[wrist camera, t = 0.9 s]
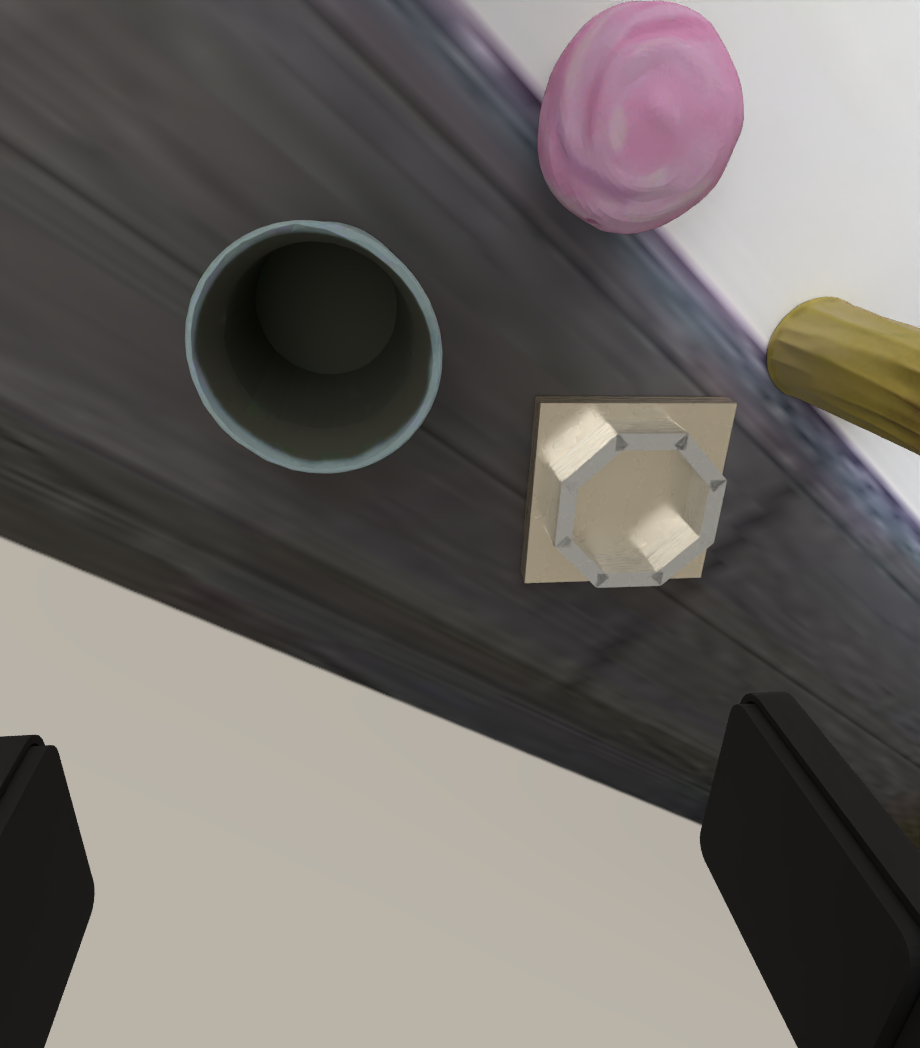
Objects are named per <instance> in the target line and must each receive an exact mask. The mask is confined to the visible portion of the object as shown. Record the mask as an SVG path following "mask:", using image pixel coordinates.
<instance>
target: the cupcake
mask: <svg viewBox="0 0 920 1048" xmlns="http://www.w3.org/2000/svg"><path fill="white" fill-rule="evenodd" d="M743 120H744V106H743V95H742V89H741V85H740V80H739V77H738V74H737V71H736V69H735V67H734V64H733V62H732V60H731V58H730V55H729V53H728V51H727V49H726V47H725V46H724V44H723V42H722V40H721V38H720V37H719V35H718V33H717V32H716V30H715V29H714V27H713V26H712V24H711V23H710V22H709V21H708V20H707V19H705V18H704V17H703V16H702V15H701V14H699V13H698V12H696V11H694V10H692V9H690V8H688V7H685V6H682V5H679V4H676V3H671V2H664V1H643V2H637V1H633V2H626V3H621V4H618V5H615V6H612V7H611V8H609V9H607V10H605V11H603V12H601V13H599V14H598V15H596V16H595V17H593V18H592V19H591V20H589V21H588V22H587V23H586V24H585V25H584V26H583V27H582V28H581V29H580V30H579V31H578V33H577V34H576V35H575V36H574V37H573V39H572V40H571V41H570V43H569V44H568V46H567V47H566V49H565V50H564V51H563V53H562V55H561V56H560V58H559V60H558V61H557V63H556V65H555V67H554V69H553V71H552V73H551V75H550V78H549V81H548V84H547V88H546V91H545V94H544V98H543V101H542V106H541V111H540V117H539V129H538V142H537V147H538V157H539V162H540V167H541V170H542V173H543V176H544V179H545V182H546V183H547V185H548V187H549V189H550V190H551V192H552V193H553V195H554V196H555V197H556V198H557V200H558V201H559V202H560V203H561V204H562V205H563V206H564V207H565V208H566V209H567V210H569V211H570V212H571V213H573V214H574V215H576V216H577V217H579V218H580V219H582V220H583V221H585V222H587V223H589V224H591V225H593V226H594V227H596V228H597V229H599V230H602V231H606V232H612V233H619V234H635V233H640V232H644V231H648V230H651V229H654V228H657V227H660V226H662V225H664V224H666V223H668V222H670V221H672V220H674V219H675V218H677V217H679V216H680V215H682V214H683V213H685V212H686V211H688V210H689V209H690V208H692V207H693V206H694V205H696V204H697V203H699V202H700V201H701V200H702V199H703V198H704V197H705V196H706V195H707V194H708V193H709V192H710V191H711V190H712V189H713V188H714V187H715V185H716V184H717V182H718V181H719V179H720V178H721V176H722V174H723V172H724V170H725V168H726V166H727V163H728V161H729V159H730V156H731V154H732V152H733V149H734V147H735V145H736V143H737V140H738V138H739V136H740V133H741V130H742V126H743Z"/></svg>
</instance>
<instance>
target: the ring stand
mask: <svg viewBox="0 0 920 1048" xmlns="http://www.w3.org/2000/svg"><path fill="white" fill-rule="evenodd" d="M736 406H737V403H736V402H734V401H732V400H731V399H729V398H728V397H726V396H535V404H534V415H533V427H532V439H531V450H530V462H529V474H528V485H527V497H526V509H525V520H524V532H523V544H522V555H521V567H520V573H521V575H522V578H523V580H524V583H543V582H575V581H590V582H591V583H592V584H593V585H594V586H595V587H596V588H605V587H636V586H661V585H662V584H663V583H664V582H666V581H667V580H668V579H671V578H701V573H702V568H703V563H704V559H705V554H706V549H707V548H708V547H709V546H711V545H712V544H713V543H714V539H715V535H716V530H717V525H718V521H719V516H720V511H721V507H722V502H723V497H724V492H725V488H726V483H727V480H726V479H725V478H724V476H723V475H722V473H723V468H724V463H725V459H726V454H727V449H728V444H729V440H730V435H731V430H732V425H733V420H734V416H735V411H736Z"/></svg>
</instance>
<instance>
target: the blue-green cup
mask: <svg viewBox="0 0 920 1048" xmlns="http://www.w3.org/2000/svg"><path fill="white" fill-rule="evenodd" d="M185 347H186V357H187V361H188V365H189V369H190V373H191V377H192V380H193V382H194V384H195V387H196V389H197V391H198V394H199V396H200V398H201V400H202V402H203V404H204V406H205V407H206V408H207V410H208V411H209V412H210V414H211V415H212V416H213V418H214V419H215V420H216V422H217V423H218V424H219V426H220V427H221V428H222V429H223V430H224V431H225V432H226V433H228V434H229V435H230V436H231V437H232V438H233V439H234V440H235V441H237V442H238V443H240V444H241V445H243V446H244V447H246V448H247V449H249V450H251V451H252V452H254V453H255V454H257V455H258V456H260V457H261V458H263V459H265V460H266V461H269V462H272V463H275V464H277V465H280V466H283V467H286V468H288V469H291V470H297V471H303V472H308V473H329V474H331V473H340V472H347V471H351V470H355V469H359V468H363V467H366V466H368V465H371V464H373V463H375V462H377V461H379V460H381V459H383V458H385V457H386V456H388V455H390V454H391V453H393V452H394V451H396V450H397V449H398V448H400V447H401V446H402V445H403V444H404V443H405V442H407V441H408V440H409V439H410V437H411V436H412V435H413V434H414V433H415V431H416V430H417V429H418V428H419V427H420V425H421V424H422V423H423V421H424V419H425V418H426V416H427V414H428V413H429V411H430V409H431V407H432V404H433V402H434V400H435V397H436V395H437V391H438V388H439V384H440V378H441V373H442V343H441V335H440V330H439V326H438V322H437V319H436V316H435V313H434V311H433V308H432V306H431V303H430V301H429V299H428V297H427V295H426V294H425V292H424V291H423V289H422V287H421V286H420V284H419V282H418V281H417V279H416V278H415V277H414V275H413V274H412V273H411V272H410V271H409V269H408V268H407V267H406V266H405V265H404V264H403V263H402V262H401V261H400V260H399V259H398V258H397V257H396V256H395V255H394V254H393V253H391V252H390V250H389V249H388V248H387V247H386V246H385V245H383V244H382V243H381V242H380V241H378V240H377V239H376V238H375V237H373V236H372V235H370V234H368V233H367V232H365V231H363V230H361V229H359V228H356V227H354V226H351V225H348V224H343V223H339V222H330V221H329V222H321V221H314V220H293V221H286V222H279V223H274V224H271V225H268V226H265V227H261V228H258V229H256V230H254V231H252V232H250V233H248V234H246V235H244V236H243V237H241V238H239V239H238V240H236V241H235V242H233V243H232V244H231V245H229V246H228V247H227V248H226V249H225V250H223V251H222V252H221V253H220V254H219V255H218V256H217V257H216V258H215V260H214V261H213V262H212V263H211V264H210V266H209V267H208V268H207V270H206V271H205V272H204V274H203V276H202V277H201V279H200V281H199V282H198V285H197V287H196V289H195V291H194V293H193V296H192V298H191V301H190V305H189V309H188V314H187V318H186V327H185Z"/></svg>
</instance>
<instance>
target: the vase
mask: <svg viewBox="0 0 920 1048" xmlns="http://www.w3.org/2000/svg"><path fill="white" fill-rule="evenodd" d="M767 367H768V372H769V375H770V377H771V380H772V381H773V383H774V384H775V386H776V387H777V388H778V389H779V390H781V391H782V392H783V393H785V394H786V395H788V396H791V397H796V398H798V399H800V400H803V401H805V402H807V403H809V404H811V405H814V406H816V407H818V408H821V409H823V410H825V411H827V412H829V413H832V414H834V415H836V416H838V417H840V418H842V419H844V420H846V421H848V422H850V423H852V424H855V425H857V426H859V427H861V428H863V429H866V430H868V431H870V432H872V433H874V434H876V435H878V436H880V437H882V438H885V439H887V440H889V441H891V442H893V443H895V444H897V445H900V446H902V447H904V448H906V449H908V450H910V451H912V452H914V453H916V454H918V455H920V328H917V327H914V326H911V325H908V324H905V323H901V322H898V321H895V320H891V319H889V318H885V317H882V316H879V315H877V314H874V313H872V312H870V311H867V310H865V309H862V308H859V307H856V306H853V305H851V304H850V303H848V302H846V301H844V300H842V299H839V298H835V297H821V298H816V299H812V300H809V301H807V302H804V303H802V304H801V305H799V306H797V307H796V308H795V309H793V310H792V311H791V312H790V313H789V314H788V315H787V316H786V317H785V318H784V319H783V320H782V321H781V322H780V324H779V325H778V326H777V328H776V330H775V332H774V333H773V336H772V338H771V340H770V343H769V347H768V352H767Z"/></svg>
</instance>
